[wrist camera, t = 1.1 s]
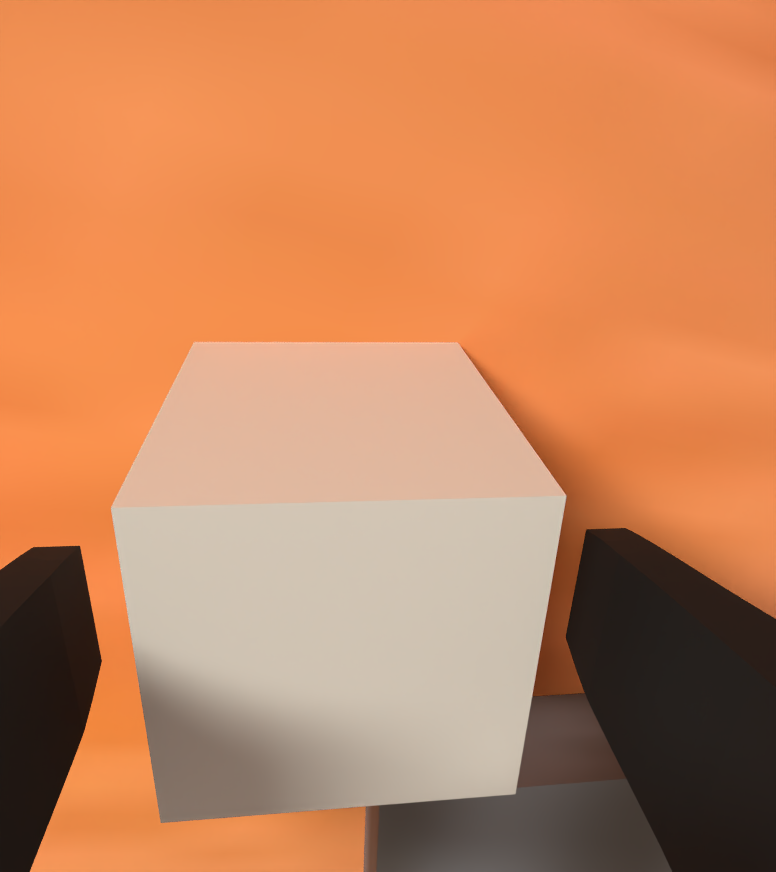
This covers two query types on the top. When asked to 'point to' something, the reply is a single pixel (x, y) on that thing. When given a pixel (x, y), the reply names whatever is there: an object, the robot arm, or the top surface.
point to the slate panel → (528, 811)
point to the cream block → (334, 579)
